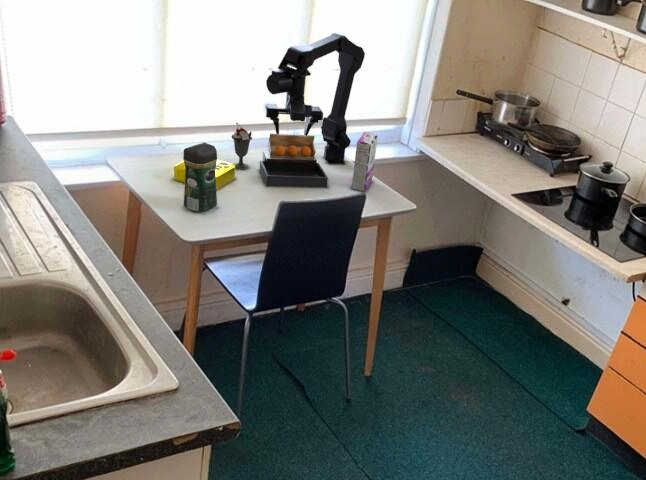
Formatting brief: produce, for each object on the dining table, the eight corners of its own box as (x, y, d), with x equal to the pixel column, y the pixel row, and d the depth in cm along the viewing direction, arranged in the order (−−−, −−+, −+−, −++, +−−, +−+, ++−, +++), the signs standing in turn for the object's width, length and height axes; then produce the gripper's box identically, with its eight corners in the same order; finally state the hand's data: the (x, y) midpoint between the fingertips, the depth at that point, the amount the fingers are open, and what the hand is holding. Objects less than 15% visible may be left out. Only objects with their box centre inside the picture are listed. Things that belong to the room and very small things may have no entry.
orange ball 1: (284, 144, 252) (286, 147, 249) (283, 155, 254) (285, 157, 251) (273, 144, 251) (275, 146, 248) (273, 154, 252) (275, 157, 250)
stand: (310, 168, 265) (312, 152, 262) (315, 176, 260) (316, 160, 257) (262, 166, 260) (263, 150, 256) (265, 174, 254) (266, 158, 251)
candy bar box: (358, 178, 264) (364, 131, 255) (372, 181, 264) (378, 134, 254) (350, 189, 255) (356, 140, 245) (364, 192, 254) (371, 144, 245)
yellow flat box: (196, 166, 251) (196, 151, 249) (237, 177, 248) (237, 163, 246) (171, 179, 239) (171, 164, 237) (213, 191, 237) (214, 177, 234)
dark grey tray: (317, 172, 263) (318, 162, 261) (326, 187, 253) (327, 177, 251) (259, 170, 256) (260, 160, 254) (266, 186, 246) (267, 175, 244)
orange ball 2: (296, 145, 254) (298, 145, 251) (296, 156, 255) (299, 156, 252) (286, 145, 253) (288, 144, 250) (286, 156, 254) (288, 155, 251)
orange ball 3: (309, 146, 256) (312, 146, 252) (309, 157, 257) (311, 157, 253) (299, 145, 254) (301, 145, 251) (299, 156, 255) (301, 156, 252)
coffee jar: (200, 198, 231) (200, 138, 220) (221, 206, 229) (222, 145, 218) (178, 207, 224) (178, 145, 213) (199, 215, 221) (200, 153, 211)
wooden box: (311, 147, 259) (314, 135, 254) (314, 159, 256) (317, 148, 252) (267, 145, 254) (269, 133, 249) (269, 158, 251) (272, 146, 247)
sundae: (226, 167, 255) (228, 122, 246) (237, 161, 260) (239, 117, 251) (243, 172, 253) (246, 127, 244) (254, 166, 258) (256, 122, 250)
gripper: (270, 96, 235) (267, 145, 244) (329, 100, 241) (324, 148, 250) (264, 84, 243) (261, 132, 252) (321, 88, 249) (316, 135, 258)
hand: (291, 137), depth 253 cm, fingers open, 9 cm apart
